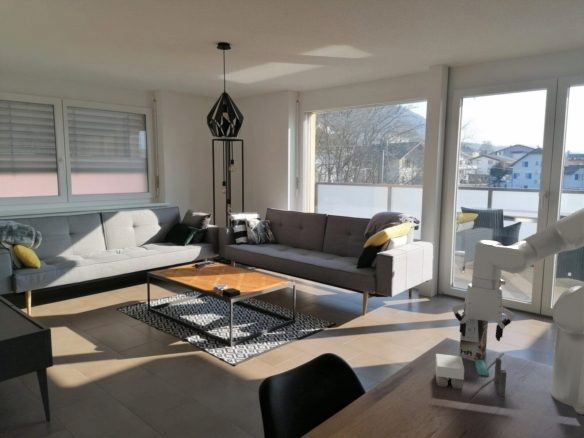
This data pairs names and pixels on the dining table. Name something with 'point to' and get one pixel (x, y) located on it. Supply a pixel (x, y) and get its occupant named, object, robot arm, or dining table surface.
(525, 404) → the dining table surface
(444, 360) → the slab
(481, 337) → the coffee box
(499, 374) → the roller bed
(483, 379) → the dining table surface
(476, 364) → the roller
